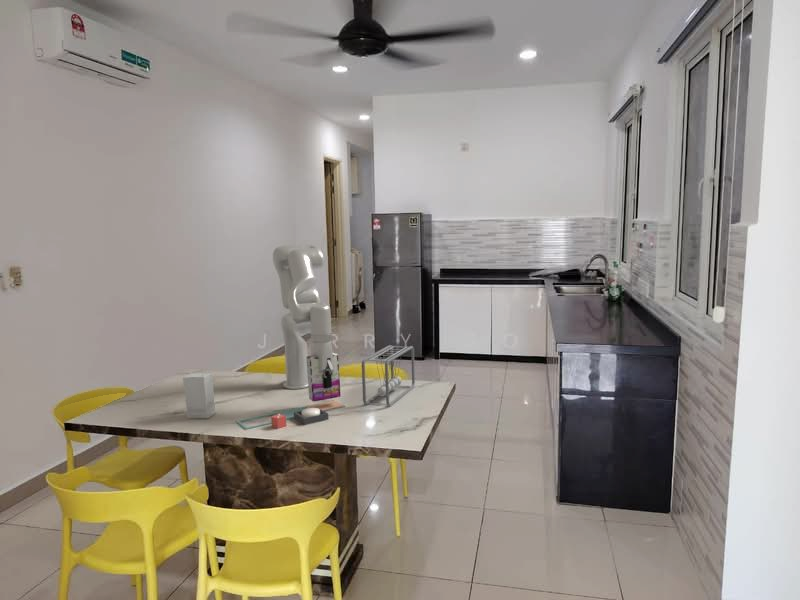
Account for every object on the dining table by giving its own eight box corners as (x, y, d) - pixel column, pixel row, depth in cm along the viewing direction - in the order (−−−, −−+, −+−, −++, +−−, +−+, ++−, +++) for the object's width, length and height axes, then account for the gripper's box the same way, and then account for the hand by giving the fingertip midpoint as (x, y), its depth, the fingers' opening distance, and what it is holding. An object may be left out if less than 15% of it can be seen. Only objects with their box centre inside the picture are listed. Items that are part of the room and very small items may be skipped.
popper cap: (298, 416, 199) (298, 410, 199) (315, 413, 202) (314, 406, 202) (306, 421, 194) (306, 414, 193) (323, 417, 197) (323, 411, 197)
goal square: (305, 407, 211) (305, 406, 211) (334, 401, 218) (334, 400, 218) (315, 412, 204) (315, 411, 204) (344, 406, 211) (344, 405, 211)
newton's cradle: (388, 408, 207) (387, 361, 205) (362, 406, 211) (360, 359, 209) (415, 386, 235) (414, 345, 233) (392, 385, 239) (390, 343, 237)
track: (236, 422, 197) (236, 421, 197) (333, 400, 218) (333, 399, 218) (245, 429, 189) (245, 428, 189) (345, 406, 210) (345, 405, 210)
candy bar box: (336, 394, 215) (334, 351, 213) (341, 397, 211) (338, 354, 209) (308, 398, 210) (305, 355, 208) (312, 402, 206) (310, 358, 204)
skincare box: (216, 413, 208) (213, 372, 206) (207, 419, 201) (204, 376, 199) (195, 412, 209) (192, 371, 207) (185, 418, 202) (182, 376, 201)
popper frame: (294, 418, 199) (293, 412, 199) (317, 413, 204) (316, 407, 204) (304, 424, 192) (304, 418, 192) (328, 419, 197) (328, 413, 197)
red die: (271, 426, 191) (270, 415, 191) (279, 423, 194) (279, 412, 193) (278, 428, 189) (277, 417, 188) (286, 425, 192) (285, 414, 191)
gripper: (302, 336, 213) (304, 383, 215) (322, 342, 199) (325, 392, 201) (320, 334, 217) (322, 380, 219) (341, 340, 203) (344, 389, 205)
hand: (323, 385), depth 210 cm, fingers closed on candy bar box, 5 cm apart
